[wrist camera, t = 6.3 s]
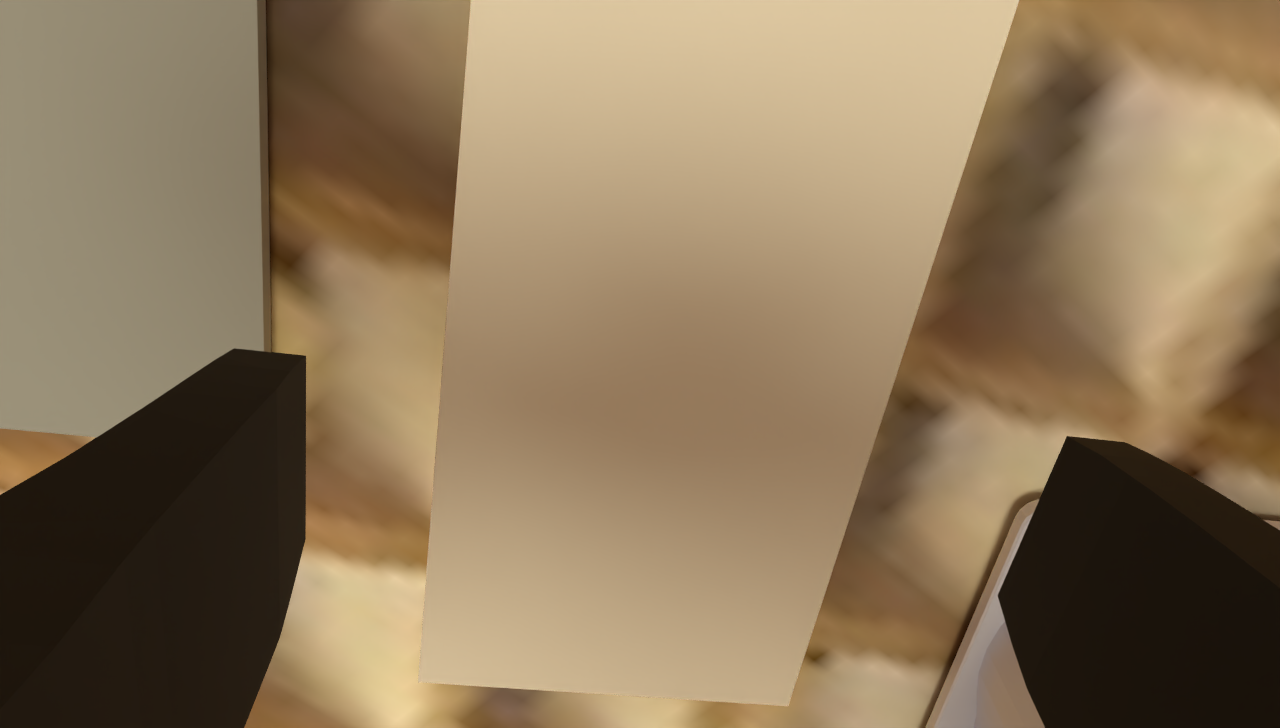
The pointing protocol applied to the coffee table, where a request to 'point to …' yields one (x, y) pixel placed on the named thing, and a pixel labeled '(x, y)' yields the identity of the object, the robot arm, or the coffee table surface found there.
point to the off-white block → (680, 325)
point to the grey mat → (128, 202)
